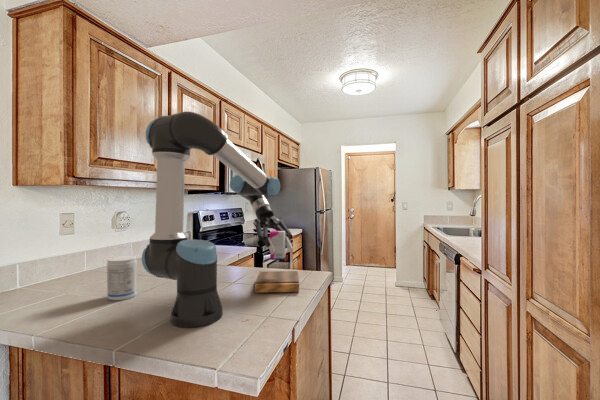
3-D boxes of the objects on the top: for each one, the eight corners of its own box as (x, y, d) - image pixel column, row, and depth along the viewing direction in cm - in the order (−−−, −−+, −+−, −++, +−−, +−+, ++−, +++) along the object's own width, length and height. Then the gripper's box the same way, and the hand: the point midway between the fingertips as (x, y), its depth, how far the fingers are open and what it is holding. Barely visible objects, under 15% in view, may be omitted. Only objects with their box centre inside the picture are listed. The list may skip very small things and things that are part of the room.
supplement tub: (115, 293, 110) (114, 255, 110) (141, 291, 112) (140, 254, 112) (102, 302, 101) (101, 261, 101) (130, 300, 102) (130, 260, 102)
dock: (255, 293, 109) (255, 283, 109) (259, 280, 127) (259, 271, 127) (299, 293, 110) (299, 282, 110) (297, 279, 127) (297, 271, 127)
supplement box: (285, 256, 122) (285, 230, 122) (283, 260, 116) (283, 232, 116) (272, 256, 122) (272, 230, 122) (269, 259, 116) (269, 232, 116)
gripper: (279, 215, 137) (298, 253, 125) (239, 217, 125) (257, 259, 112) (285, 204, 133) (306, 242, 120) (244, 205, 121) (263, 248, 108)
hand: (282, 251), depth 116 cm, fingers closed on supplement box, 8 cm apart
